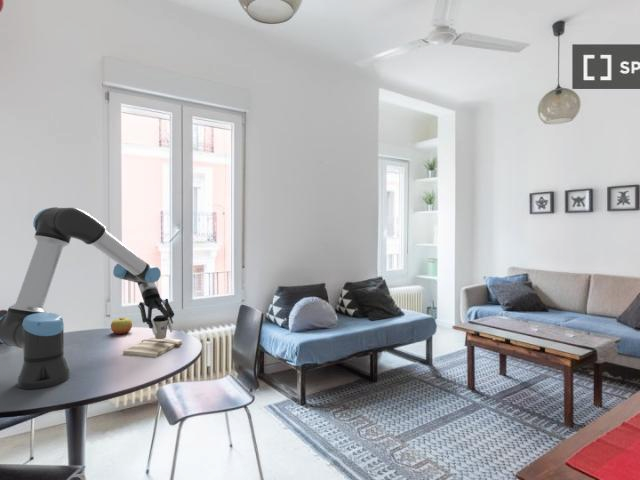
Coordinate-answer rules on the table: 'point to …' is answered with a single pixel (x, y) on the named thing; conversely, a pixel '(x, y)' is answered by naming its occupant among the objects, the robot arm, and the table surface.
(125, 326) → the apple
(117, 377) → the table surface
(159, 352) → the subfloor panel
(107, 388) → the table surface
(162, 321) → the coffee cup
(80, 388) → the table surface
